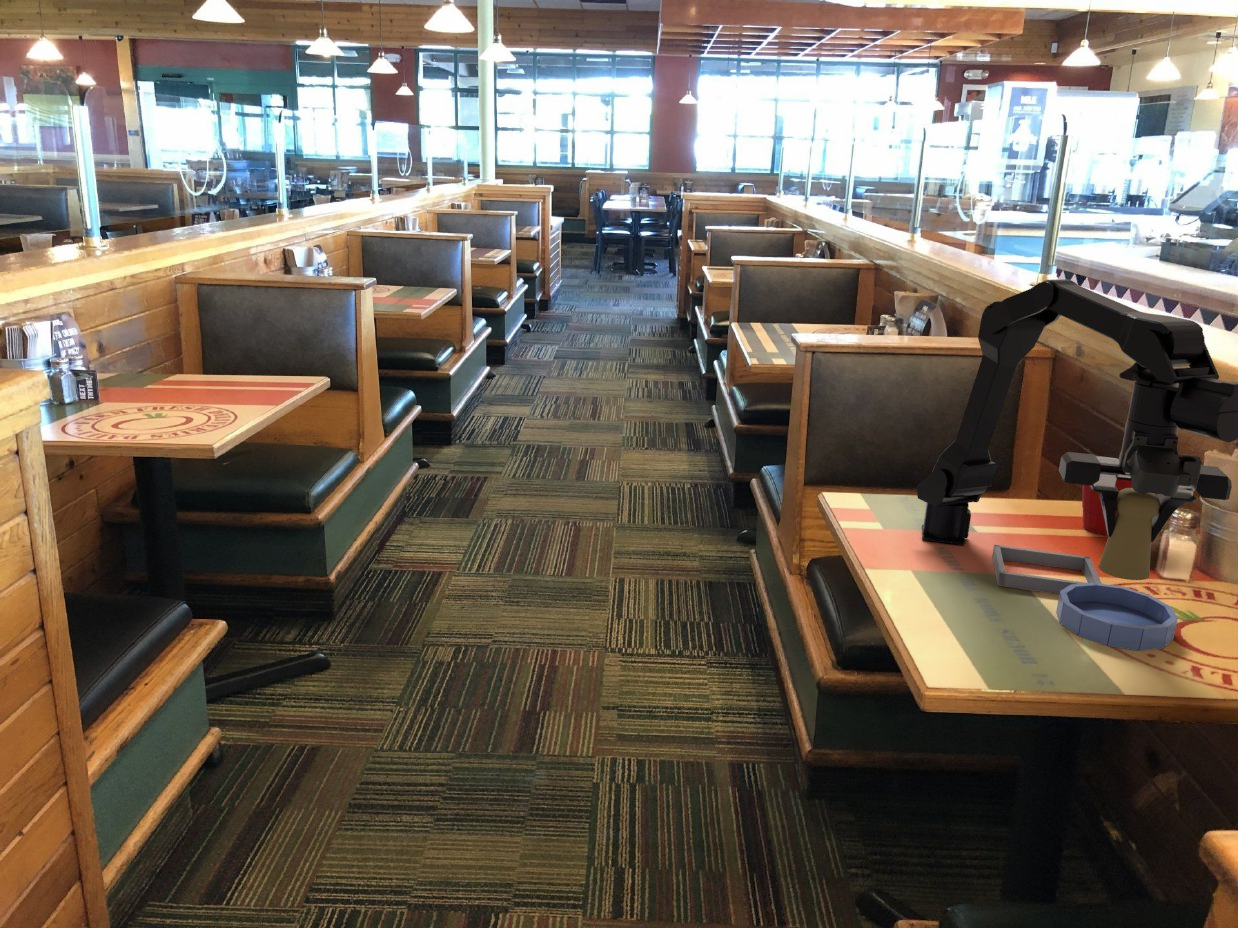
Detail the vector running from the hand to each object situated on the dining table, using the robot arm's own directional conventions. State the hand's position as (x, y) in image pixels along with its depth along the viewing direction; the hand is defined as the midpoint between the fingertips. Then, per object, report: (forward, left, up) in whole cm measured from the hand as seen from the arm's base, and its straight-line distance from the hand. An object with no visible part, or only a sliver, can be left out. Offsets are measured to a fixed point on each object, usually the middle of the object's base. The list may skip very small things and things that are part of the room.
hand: (1129, 538), depth 126 cm
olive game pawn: (0, 0, -5) cm, 5 cm away
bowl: (0, 0, -12) cm, 12 cm away
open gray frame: (-7, +14, -12) cm, 20 cm away
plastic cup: (+5, +40, -12) cm, 42 cm away
